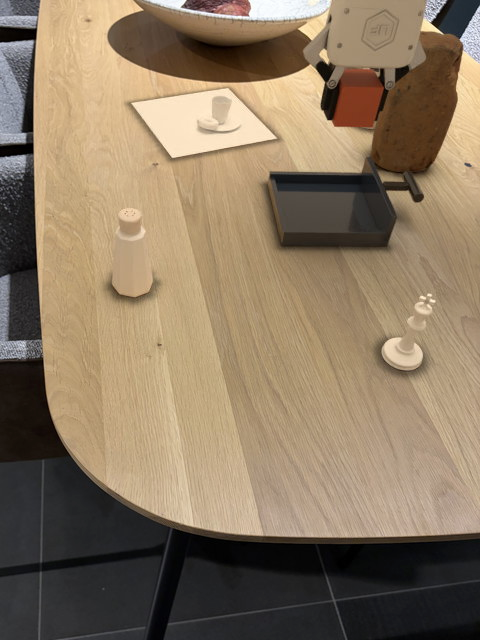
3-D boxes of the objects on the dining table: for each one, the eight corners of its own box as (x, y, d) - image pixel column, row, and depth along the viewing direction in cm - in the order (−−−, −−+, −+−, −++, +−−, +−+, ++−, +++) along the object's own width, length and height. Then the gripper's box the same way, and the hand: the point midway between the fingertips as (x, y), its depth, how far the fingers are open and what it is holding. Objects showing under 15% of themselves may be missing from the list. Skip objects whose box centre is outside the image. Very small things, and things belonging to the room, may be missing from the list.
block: (366, 168, 101) (403, 42, 86) (368, 146, 106) (403, 22, 91) (431, 179, 100) (481, 53, 85) (430, 156, 105) (477, 33, 90)
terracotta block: (363, 108, 79) (373, 69, 75) (372, 127, 76) (384, 87, 72) (325, 107, 78) (334, 68, 75) (334, 127, 75) (343, 86, 71)
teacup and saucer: (204, 137, 105) (205, 114, 102) (186, 116, 109) (187, 93, 106) (248, 129, 107) (251, 107, 104) (229, 108, 112) (231, 86, 109)
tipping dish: (393, 186, 98) (405, 153, 94) (422, 246, 88) (436, 213, 84) (267, 184, 96) (272, 151, 92) (281, 245, 87) (288, 211, 82)
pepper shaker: (150, 269, 82) (149, 199, 73) (155, 296, 78) (155, 226, 70) (110, 271, 81) (105, 201, 72) (113, 299, 77) (108, 228, 69)
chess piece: (387, 335, 76) (412, 274, 68) (425, 349, 75) (456, 289, 67) (376, 361, 73) (402, 300, 65) (416, 376, 72) (447, 316, 64)
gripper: (319, -45, 60) (288, 129, 74) (482, -38, 61) (422, 131, 75) (305, -67, 65) (279, 100, 78) (457, -61, 66) (405, 102, 80)
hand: (349, 114), depth 77 cm, fingers closed on terracotta block, 5 cm apart
